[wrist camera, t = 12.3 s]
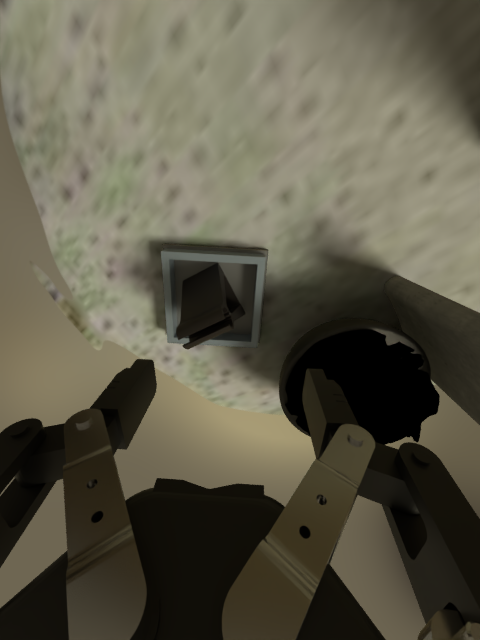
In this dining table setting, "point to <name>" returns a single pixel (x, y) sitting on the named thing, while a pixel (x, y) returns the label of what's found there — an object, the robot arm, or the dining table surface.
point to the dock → (242, 274)
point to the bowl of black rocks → (364, 376)
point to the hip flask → (442, 339)
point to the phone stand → (207, 306)
